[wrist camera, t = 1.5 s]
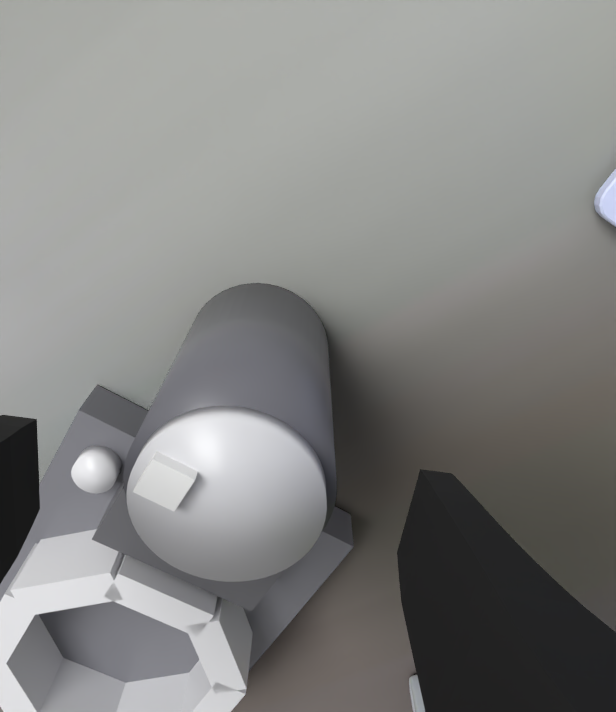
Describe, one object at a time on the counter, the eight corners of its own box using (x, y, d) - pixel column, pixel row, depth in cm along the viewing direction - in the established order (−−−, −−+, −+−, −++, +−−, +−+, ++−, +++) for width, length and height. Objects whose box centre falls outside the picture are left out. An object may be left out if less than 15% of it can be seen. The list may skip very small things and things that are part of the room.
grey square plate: (350, 514, 19) (358, 598, 16) (196, 703, 23) (177, 801, 20) (97, 384, 17) (49, 451, 14) (-26, 614, 21) (-85, 706, 18)
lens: (354, 329, 17) (383, 486, 10) (282, 432, 18) (266, 628, 12) (231, 256, 16) (174, 375, 9) (165, 369, 17) (74, 543, 11)
